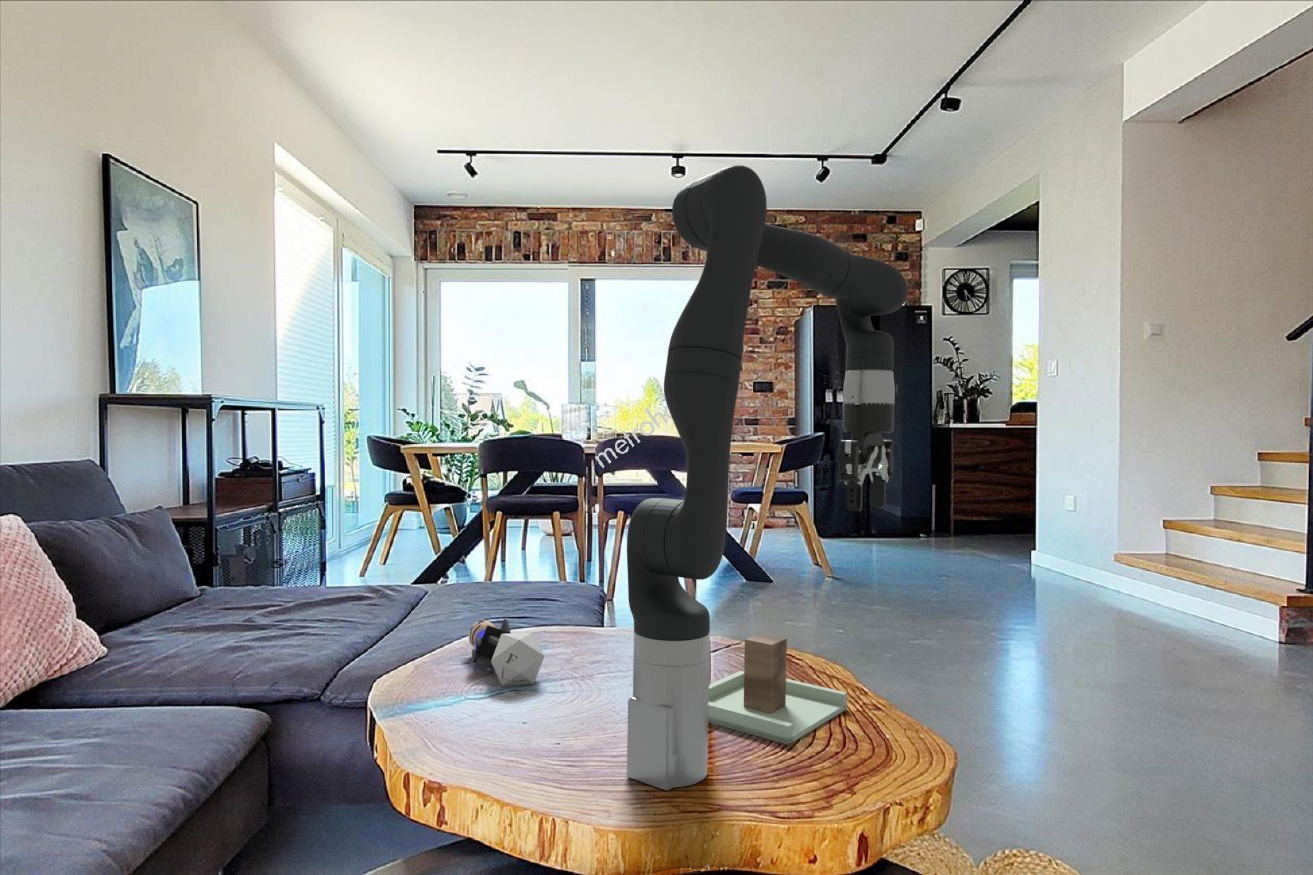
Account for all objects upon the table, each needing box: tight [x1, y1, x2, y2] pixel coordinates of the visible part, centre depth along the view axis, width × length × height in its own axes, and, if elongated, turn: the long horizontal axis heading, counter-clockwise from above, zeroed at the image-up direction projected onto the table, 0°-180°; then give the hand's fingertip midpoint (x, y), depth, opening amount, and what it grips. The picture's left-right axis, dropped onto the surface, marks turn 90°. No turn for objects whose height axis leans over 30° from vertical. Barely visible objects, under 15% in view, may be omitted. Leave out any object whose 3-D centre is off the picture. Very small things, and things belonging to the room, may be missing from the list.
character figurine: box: [468, 618, 512, 671], centre depth 144 cm, size 8×7×15 cm
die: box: [491, 631, 545, 687], centre depth 134 cm, size 8×9×10 cm
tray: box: [708, 669, 848, 746], centre depth 122 cm, size 18×18×2 cm
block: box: [743, 633, 788, 714], centre depth 122 cm, size 4×4×10 cm
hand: (866, 508), depth 125 cm, fingers open, 8 cm apart
